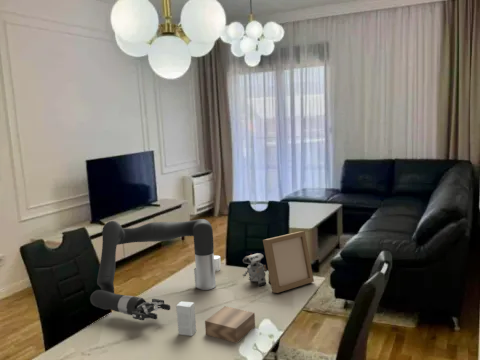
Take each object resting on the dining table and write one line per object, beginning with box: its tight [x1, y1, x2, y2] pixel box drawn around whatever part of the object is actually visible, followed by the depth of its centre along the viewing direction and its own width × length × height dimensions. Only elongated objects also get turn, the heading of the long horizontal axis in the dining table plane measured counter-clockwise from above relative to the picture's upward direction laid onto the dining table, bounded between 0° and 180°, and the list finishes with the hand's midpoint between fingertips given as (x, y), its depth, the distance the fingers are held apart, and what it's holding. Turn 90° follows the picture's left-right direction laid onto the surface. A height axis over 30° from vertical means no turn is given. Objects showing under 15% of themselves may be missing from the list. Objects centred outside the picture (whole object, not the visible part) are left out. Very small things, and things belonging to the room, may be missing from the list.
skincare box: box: [175, 301, 197, 337], centre depth 171 cm, size 6×4×12 cm
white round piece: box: [214, 254, 222, 272], centre depth 238 cm, size 7×7×7 cm
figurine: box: [242, 252, 268, 287], centre depth 215 cm, size 9×12×15 cm
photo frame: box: [262, 230, 315, 294], centre depth 212 cm, size 15×22×25 cm
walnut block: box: [204, 305, 256, 344], centre depth 171 cm, size 14×14×6 cm
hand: (163, 312), depth 175 cm, fingers open, 8 cm apart
